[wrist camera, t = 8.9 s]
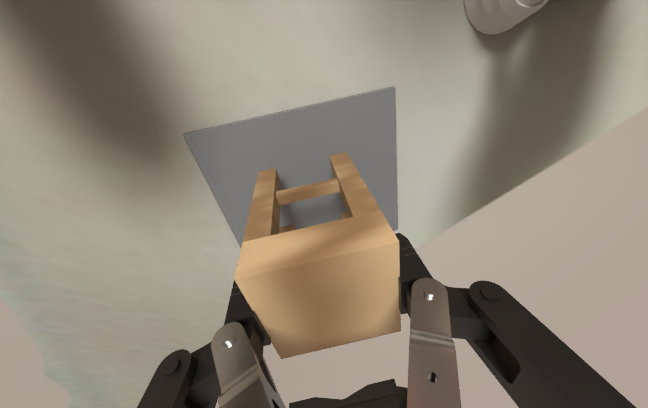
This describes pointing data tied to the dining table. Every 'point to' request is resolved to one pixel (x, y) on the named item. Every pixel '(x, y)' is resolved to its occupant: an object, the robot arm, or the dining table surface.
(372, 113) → the mat
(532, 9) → the chalice
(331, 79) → the dining table surface
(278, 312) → the light wood stool
